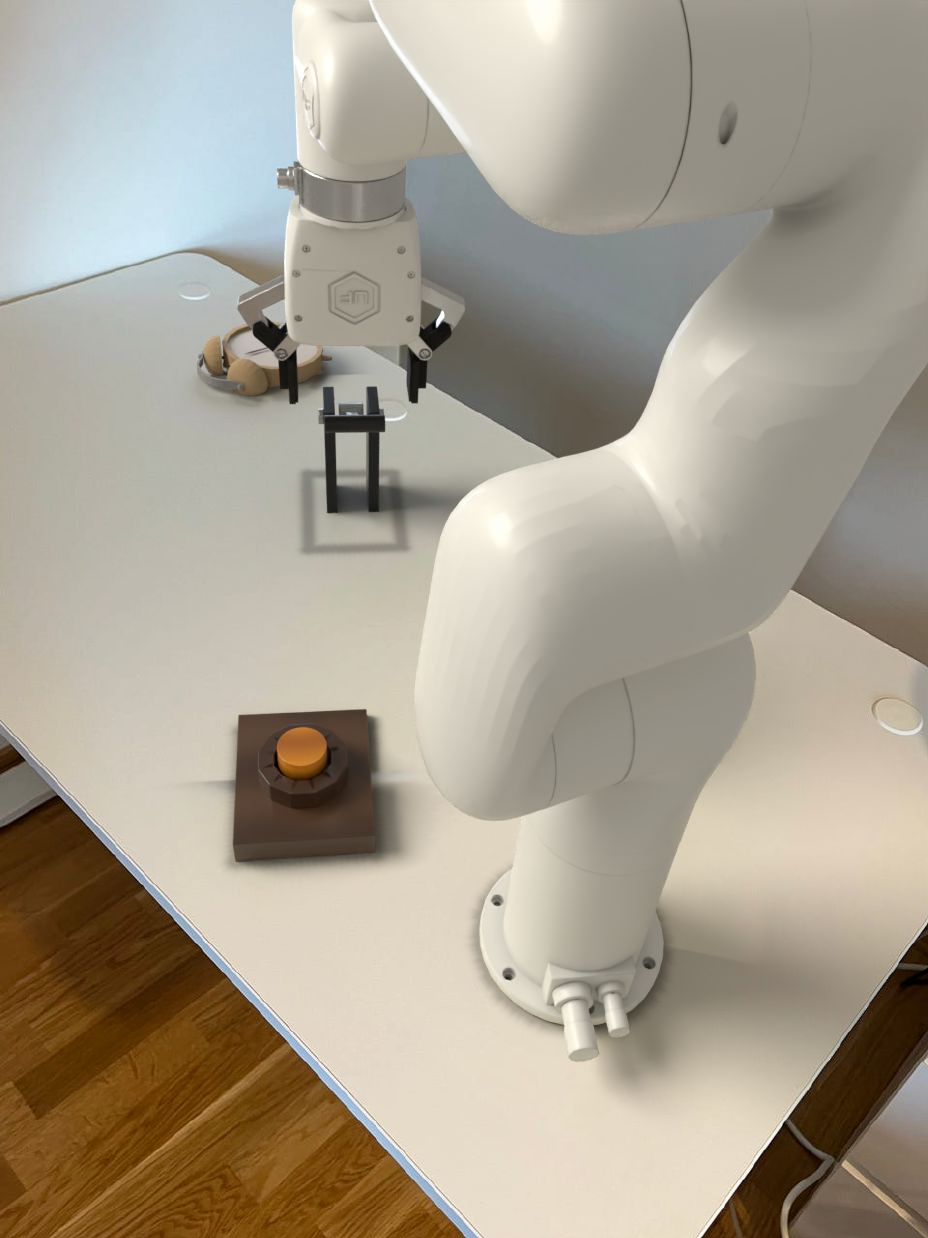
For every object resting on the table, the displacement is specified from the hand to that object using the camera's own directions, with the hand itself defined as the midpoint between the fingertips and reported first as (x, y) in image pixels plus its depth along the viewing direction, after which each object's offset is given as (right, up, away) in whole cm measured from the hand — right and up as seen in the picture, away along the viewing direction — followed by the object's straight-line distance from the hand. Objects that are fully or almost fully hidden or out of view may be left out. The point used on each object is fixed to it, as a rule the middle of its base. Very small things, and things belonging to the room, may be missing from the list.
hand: (353, 394), depth 87 cm
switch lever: (-1, -2, +7) cm, 7 cm away
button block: (-3, -31, -6) cm, 32 cm away
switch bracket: (-2, -7, +19) cm, 21 cm away
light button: (-3, -29, -8) cm, 30 cm away
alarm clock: (-14, +9, +35) cm, 39 cm away
